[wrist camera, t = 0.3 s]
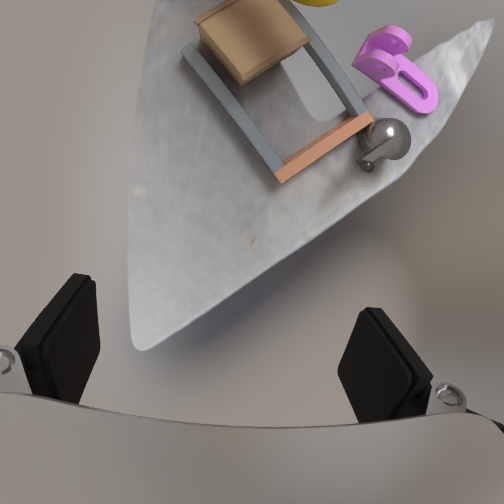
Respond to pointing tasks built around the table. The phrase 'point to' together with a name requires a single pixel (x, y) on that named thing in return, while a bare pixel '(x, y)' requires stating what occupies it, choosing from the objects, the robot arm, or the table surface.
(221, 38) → the block
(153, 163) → the table surface
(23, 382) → the robot arm
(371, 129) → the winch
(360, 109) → the bay
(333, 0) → the yellow roll
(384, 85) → the bracket
